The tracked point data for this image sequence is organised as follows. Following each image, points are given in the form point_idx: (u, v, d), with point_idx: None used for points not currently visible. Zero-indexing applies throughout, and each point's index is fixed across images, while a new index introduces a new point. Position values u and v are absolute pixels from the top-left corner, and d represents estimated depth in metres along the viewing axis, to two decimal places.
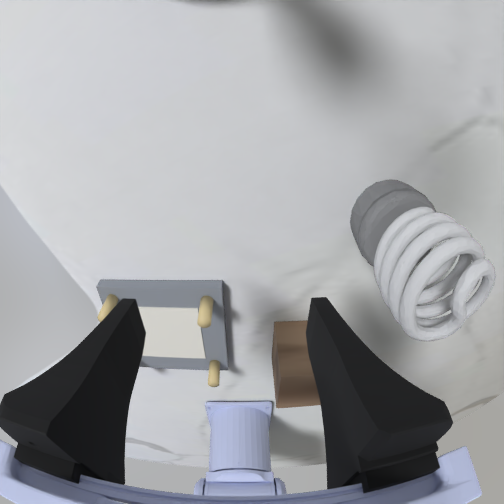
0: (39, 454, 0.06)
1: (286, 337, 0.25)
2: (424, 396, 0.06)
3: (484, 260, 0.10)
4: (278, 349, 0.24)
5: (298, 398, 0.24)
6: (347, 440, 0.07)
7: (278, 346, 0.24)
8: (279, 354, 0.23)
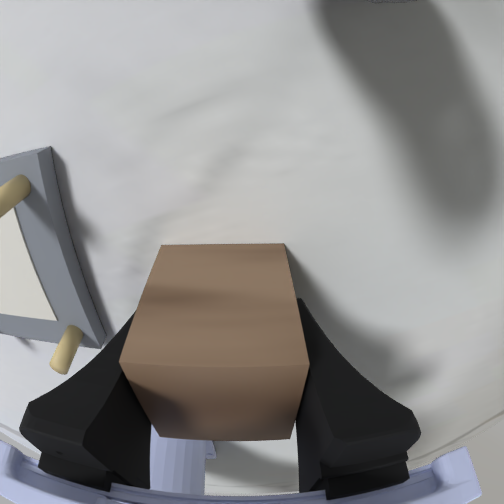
0: (66, 463, 0.06)
1: (172, 274, 0.11)
2: (390, 404, 0.06)
3: None
4: (143, 296, 0.10)
5: (198, 424, 0.09)
6: (312, 445, 0.07)
7: (146, 290, 0.10)
8: (140, 307, 0.09)
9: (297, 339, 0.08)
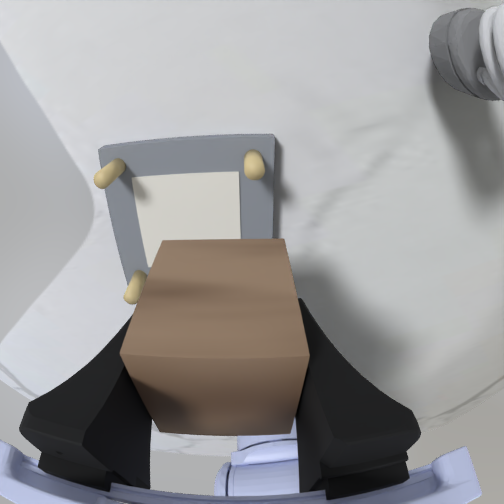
0: (66, 463, 0.06)
1: (173, 268, 0.11)
2: (391, 404, 0.06)
3: None
4: (144, 290, 0.10)
5: (199, 418, 0.09)
6: (312, 445, 0.07)
7: (147, 283, 0.10)
8: (141, 300, 0.09)
9: (297, 331, 0.08)
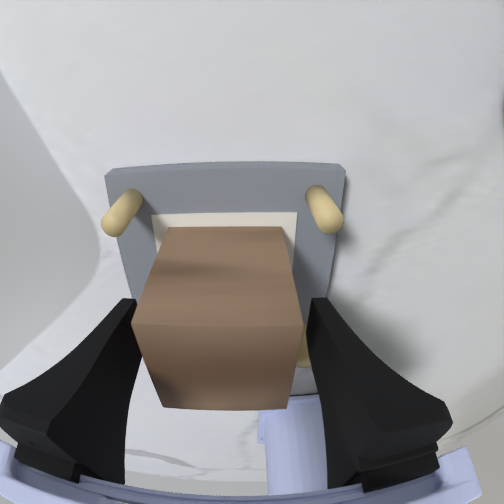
0: (39, 454, 0.06)
1: (178, 250, 0.12)
2: (424, 396, 0.06)
3: None
4: (153, 269, 0.11)
5: (201, 390, 0.10)
6: (347, 440, 0.07)
7: (155, 264, 0.11)
8: (150, 278, 0.10)
9: (292, 304, 0.09)
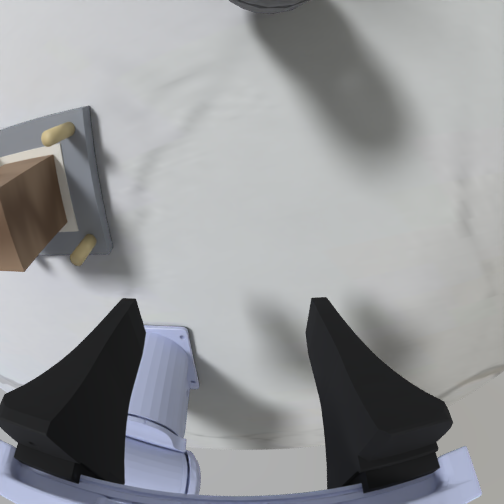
0: (39, 454, 0.06)
1: None
2: (424, 396, 0.06)
3: None
4: None
5: None
6: (347, 440, 0.07)
7: None
8: None
9: (4, 183, 0.12)
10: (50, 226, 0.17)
